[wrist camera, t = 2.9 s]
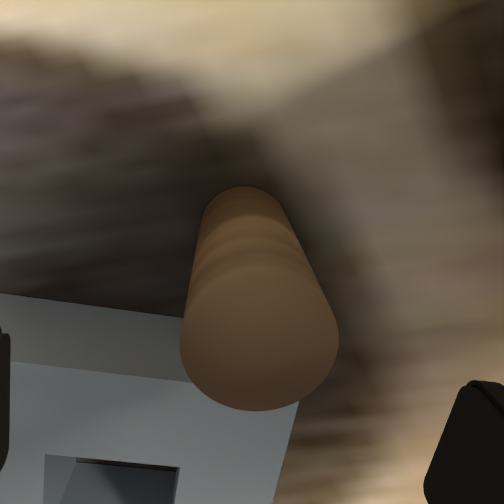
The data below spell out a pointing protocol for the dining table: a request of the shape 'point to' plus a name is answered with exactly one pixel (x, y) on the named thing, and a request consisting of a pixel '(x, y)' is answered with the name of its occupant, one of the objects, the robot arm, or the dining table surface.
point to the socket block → (124, 414)
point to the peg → (254, 308)
